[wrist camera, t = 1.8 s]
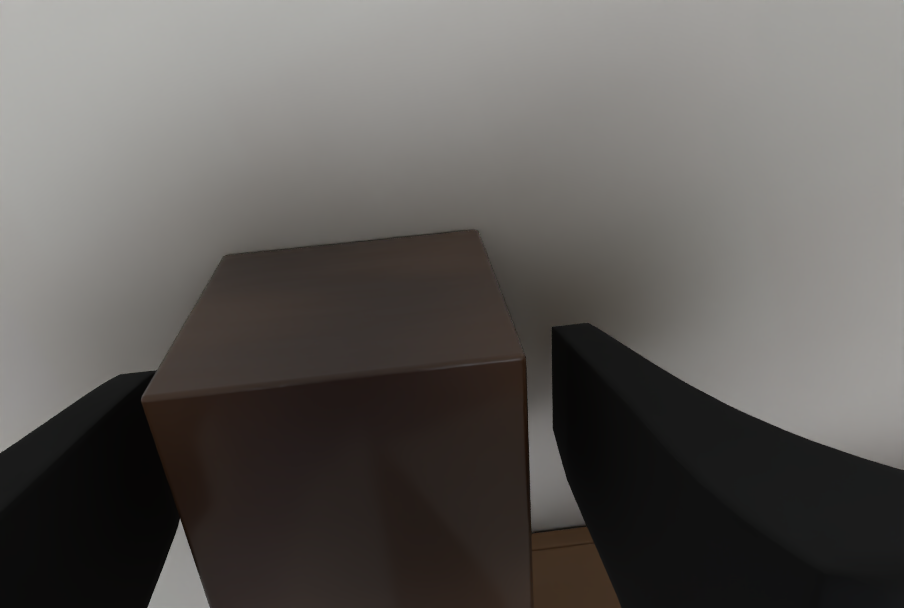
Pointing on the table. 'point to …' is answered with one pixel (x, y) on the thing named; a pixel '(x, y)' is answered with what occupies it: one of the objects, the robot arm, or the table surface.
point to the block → (351, 429)
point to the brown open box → (569, 571)
